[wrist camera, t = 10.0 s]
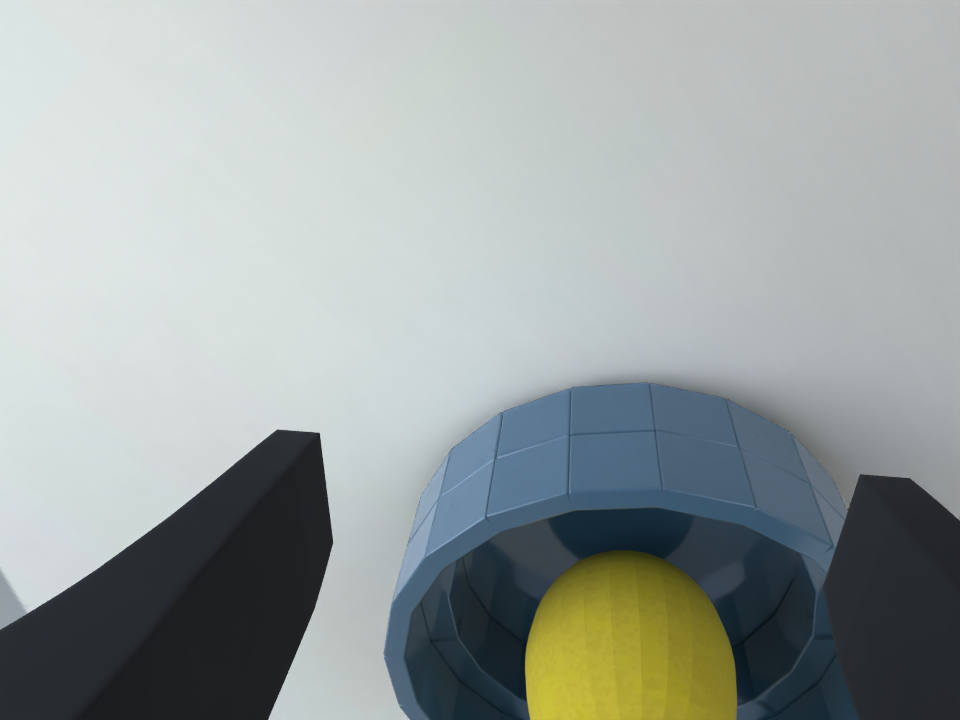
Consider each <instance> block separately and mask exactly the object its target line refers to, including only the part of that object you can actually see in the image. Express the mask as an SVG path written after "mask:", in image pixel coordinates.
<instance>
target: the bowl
mask: <svg viewBox="0 0 960 720" xmlns="http://www.w3.org/2000/svg"><path fill="white" fill-rule="evenodd" d="M847 513H848V512H847V509H846V507H845V505H844V502H843V500H842V498H841V495H840V493H839V490H838V488H837V486H836V483H835V482H834V480H833V478H832V477H831V476H830V475H829V474H828V473H827V471H826V470H825V469H824V468H823V467H822V466H821V465H820V464H819V463H818V462H817V461H816V460H815V458H814V457H813V456H812V455H811V454H810V453H809V452H808V451H807V450H806V449H805V448H804V447H803V446H802V444H801V443H800V442H799V441H798V440H797V439H796V438H795V437H794V436H793V435H792V434H791V433H790V432H789V431H788V430H786V429H784V428H782V427H780V426H778V425H776V424H774V423H772V422H770V421H769V420H767V419H765V418H763V417H761V416H759V415H757V414H755V413H753V412H752V411H750V410H748V409H746V408H744V407H742V406H740V405H738V404H736V403H734V402H733V401H731V400H729V399H725V398H723V397H718V396H713V395H708V394H703V393H698V392H693V391H688V390H683V389H678V388H673V387H669V386H664V385H659V384H654V383H650V384H649V383H631V384H615V385H599V386H583V387H572V388H571V389H567V390H564V391H561V392H558V393H555V394H552V395H549V396H546V397H543V398H540V399H538V400H535V401H532V402H529V403H526V404H523V405H520V406H517V407H514V408H512V409H509V410H506V411H504V413H503V412H501V413H500V414H498V415H497V416H496V417H494V418H493V419H491V420H490V421H489V422H487V423H486V424H485V425H483V426H482V427H481V428H479V429H478V430H477V431H475V432H474V433H473V434H471V435H470V436H469V437H467V438H466V439H464V440H463V441H462V442H460V443H459V444H458V445H456V446H455V447H454V448H452V450H451V451H450V452H449V453H448V455H447V457H446V458H445V460H444V461H443V463H442V464H441V466H440V467H439V469H438V470H437V472H436V474H435V475H434V477H433V478H432V480H431V481H430V483H429V484H428V486H427V487H426V489H425V491H424V492H423V494H422V496H421V498H420V502H419V506H418V509H417V513H416V517H415V520H414V524H413V527H412V531H411V535H410V538H409V542H408V546H407V549H406V553H405V556H404V560H403V564H402V567H401V571H400V574H399V578H398V582H397V585H396V589H395V592H394V596H393V600H392V603H391V608H390V615H389V621H388V628H387V634H386V641H385V648H384V659H385V662H386V666H387V669H388V672H389V675H390V678H391V681H392V685H393V688H394V691H395V694H396V697H397V701H398V704H399V706H400V708H401V709H402V710H403V711H404V713H405V714H406V715H407V716H408V718H409V719H410V720H530V715H529V710H528V703H527V692H526V676H525V656H526V647H527V642H528V637H529V633H530V630H531V626H532V623H533V620H534V617H535V614H536V611H537V608H538V606H539V604H540V601H541V599H542V598H543V596H544V595H545V593H546V592H547V590H548V589H549V588H550V587H551V585H552V584H553V583H554V581H555V580H556V579H557V578H558V577H559V576H560V575H561V574H562V573H563V572H564V571H566V570H567V569H568V568H570V567H571V566H572V565H574V564H575V563H577V562H578V561H580V560H582V559H584V558H587V557H589V556H591V555H594V554H597V553H602V552H607V551H612V550H632V551H638V552H644V553H649V554H652V555H654V556H657V557H660V558H662V559H665V560H667V561H668V562H670V563H672V564H673V565H675V566H676V567H678V568H679V569H681V570H682V571H684V572H685V573H686V574H688V575H689V576H690V577H691V578H692V579H693V580H694V581H695V582H696V583H697V585H698V586H699V587H700V588H701V589H702V590H703V591H704V592H705V594H706V595H707V596H708V597H709V599H710V600H711V602H712V604H713V605H714V607H715V609H716V611H717V613H718V615H719V618H720V620H721V622H722V624H723V627H724V629H725V631H726V634H727V636H728V639H729V642H730V645H731V648H732V653H733V657H734V663H735V671H736V690H737V717H736V720H858V717H857V714H856V711H855V708H854V705H853V702H852V699H851V696H850V693H849V691H848V688H847V685H846V682H845V679H844V676H843V673H842V670H841V667H840V664H839V661H838V657H837V652H836V648H835V644H834V639H833V635H832V630H831V625H830V620H829V615H828V610H827V605H826V600H825V595H824V589H823V585H824V582H825V579H826V576H827V573H828V570H829V567H830V564H831V561H832V558H833V555H834V552H835V549H836V546H837V543H838V540H839V537H840V534H841V531H842V528H843V525H844V522H845V519H846V516H847Z"/></svg>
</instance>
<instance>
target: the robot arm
mask: <svg viewBox="0 0 960 720" xmlns="http://www.w3.org/2000/svg"><path fill="white" fill-rule="evenodd" d="M332 545H333V537H332V529H331V521H330V513H329V505H328V497H327V489H326V481H325V473H324V464H323V456H322V448H321V440H320V433H314V432H301V431H288V430H276V431H275V432H274V433H272V434H271V435H270V436H268V437H267V438H266V439H265V440H263V441H262V442H261V443H260V444H258V445H257V446H256V447H255V448H254V449H252V450H251V451H250V452H249V453H248V454H246V455H245V456H244V457H243V458H241V459H240V460H239V461H238V462H237V463H235V464H234V465H233V466H232V467H231V468H229V469H228V470H227V471H226V472H224V473H223V474H222V475H221V476H220V477H218V478H217V479H216V480H215V481H214V482H212V483H211V484H210V485H209V486H207V487H206V488H205V489H203V490H202V491H201V492H200V493H198V494H197V495H196V496H195V497H193V498H192V499H191V500H190V501H188V502H187V503H186V504H185V505H183V506H182V507H181V508H180V509H178V510H177V511H176V512H175V513H173V514H172V515H171V516H170V517H168V518H167V519H166V520H164V521H163V522H162V523H160V524H159V525H157V526H156V527H155V528H153V529H152V530H151V531H149V532H148V533H146V534H145V535H144V536H142V537H141V538H140V539H138V540H137V541H135V542H134V543H133V544H131V545H130V546H129V547H127V548H126V549H124V550H123V551H122V552H120V553H119V554H118V555H116V556H115V557H113V558H112V559H111V560H109V561H108V562H106V563H105V564H104V565H102V566H101V567H100V568H98V569H97V570H95V571H94V572H92V573H91V574H89V575H88V576H86V577H85V578H83V579H82V580H80V581H79V582H77V583H76V584H74V585H73V586H71V587H70V588H68V589H66V590H65V591H63V592H62V593H60V594H59V595H57V596H56V597H54V598H52V599H51V600H49V601H47V602H46V603H44V604H42V605H41V606H39V607H38V608H36V609H34V610H33V611H31V612H29V613H28V614H26V615H25V616H23V617H22V618H20V619H18V620H17V621H15V622H13V623H11V624H10V625H8V626H6V627H4V628H3V629H1V630H0V720H268V718H269V716H270V714H271V711H272V709H273V707H274V704H275V702H276V699H277V697H278V695H279V692H280V690H281V688H282V685H283V683H284V681H285V678H286V676H287V674H288V671H289V669H290V667H291V664H292V662H293V659H294V657H295V655H296V652H297V650H298V647H299V645H300V643H301V640H302V638H303V635H304V633H305V631H306V628H307V626H308V623H309V621H310V618H311V616H312V614H313V611H314V609H315V605H316V602H317V599H318V595H319V592H320V588H321V585H322V582H323V578H324V574H325V571H326V567H327V563H328V560H329V556H330V552H331V548H332ZM823 589H824V595H825V600H826V605H827V610H828V615H829V620H830V625H831V630H832V635H833V639H834V644H835V648H836V652H837V657H838V661H839V664H840V667H841V670H842V673H843V676H844V679H845V682H846V685H847V688H848V691H849V693H850V696H851V699H852V702H853V705H854V708H855V711H856V714H857V717H858V720H960V521H959V520H958V519H957V518H956V517H955V516H954V515H953V514H951V513H950V512H949V511H948V510H947V509H946V508H945V507H943V506H942V505H941V504H940V503H939V502H938V501H937V500H935V499H934V498H933V497H932V496H931V495H929V494H928V493H927V492H926V491H925V490H924V489H922V488H921V487H920V486H919V485H917V484H916V483H915V482H914V481H912V480H911V479H910V478H900V477H887V476H874V475H861V474H860V476H859V479H858V482H857V485H856V488H855V492H854V495H853V498H852V501H851V504H850V507H849V510H848V513H847V516H846V519H845V522H844V525H843V528H842V531H841V534H840V537H839V540H838V543H837V546H836V549H835V552H834V555H833V558H832V561H831V564H830V567H829V570H828V573H827V576H826V579H825V582H824V585H823Z"/></svg>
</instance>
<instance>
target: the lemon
mask: <svg viewBox="0 0 960 720" xmlns="http://www.w3.org/2000/svg"><path fill="white" fill-rule="evenodd" d="M525 676H526V692H527V703H528V710H529V715H530V720H736V717H737V690H736V671H735V663H734V657H733V653H732V648H731V645H730V642H729V639H728V636H727V634H726V631H725V629H724V627H723V624H722V622H721V620H720V618H719V615H718V613H717V611H716V609H715V607H714V605H713V604H712V602H711V600H710V599H709V597H708V596H707V595H706V594H705V592H704V591H703V590H702V589H701V588H700V587H699V586H698V585H697V583H696V582H695V581H694V580H693V579H692V578H691V577H690V576H689V575H688V574H686V573H685V572H684V571H682V570H681V569H679V568H678V567H676V566H675V565H673V564H672V563H670V562H668V561H667V560H665V559H662V558H660V557H657V556H654V555H652V554H649V553H644V552H638V551H632V550H612V551H607V552H602V553H597V554H594V555H591V556H589V557H587V558H584V559H582V560H580V561H578V562H577V563H575V564H574V565H572V566H571V567H570V568H568V569H567V570H566V571H564V572H563V573H562V574H561V575H560V576H559V577H558V578H557V579H556V580H555V581H554V583H553V584H552V585H551V587H550V588H549V589H548V590H547V592H546V593H545V595H544V596H543V598H542V599H541V601H540V604H539V606H538V608H537V611H536V614H535V617H534V620H533V623H532V626H531V630H530V633H529V637H528V642H527V647H526V656H525Z"/></svg>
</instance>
